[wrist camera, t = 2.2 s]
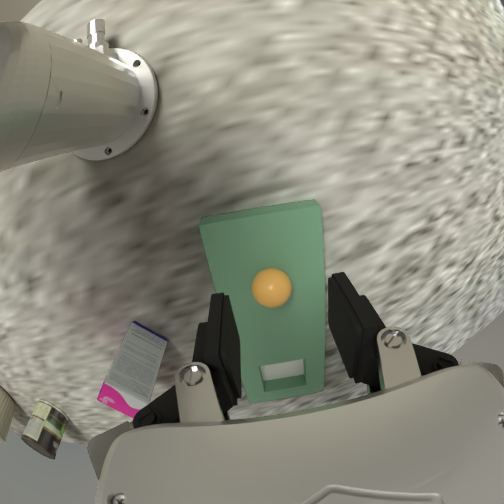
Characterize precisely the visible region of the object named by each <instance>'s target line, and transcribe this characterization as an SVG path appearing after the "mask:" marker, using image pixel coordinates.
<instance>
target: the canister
mask: <svg viewBox="0 0 504 504" xmlns="http://www.w3.org/2000/svg"><path fill="white" fill-rule="evenodd" d="M14 410H15V404H14V402H13V400H12V398H11V397H10V396H9V395H8V394H7V393H6V392H5V391H4V390H3V389H2V388H1V387H0V443H1V444H2V443H4V444H6V437H7V434H8V430H9V427H10V424H11V421H12V417H13V414H14Z"/></svg>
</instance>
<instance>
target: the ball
mask: <svg viewBox="0 0 504 504" xmlns="http://www.w3.org/2000/svg"><path fill="white" fill-rule="evenodd" d="M291 291H292V285H291V281H290V279H289V277H288V276H287V274H286V273H285V272H283V271H282V270H280V269H277V268H267V269H264V270H262V271H260V272H259V273H258V274H257V275H256V276H255V278H254V279H253V282H252V294H253V296H254V298H255V300H256V301H257V302H258V303H259V304H260V305H262V306H264V307H268V308H276V307H279V306H281V305H283V304H284V303H285V302H286V301H287V300H288V299H289V297H290V295H291Z"/></svg>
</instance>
